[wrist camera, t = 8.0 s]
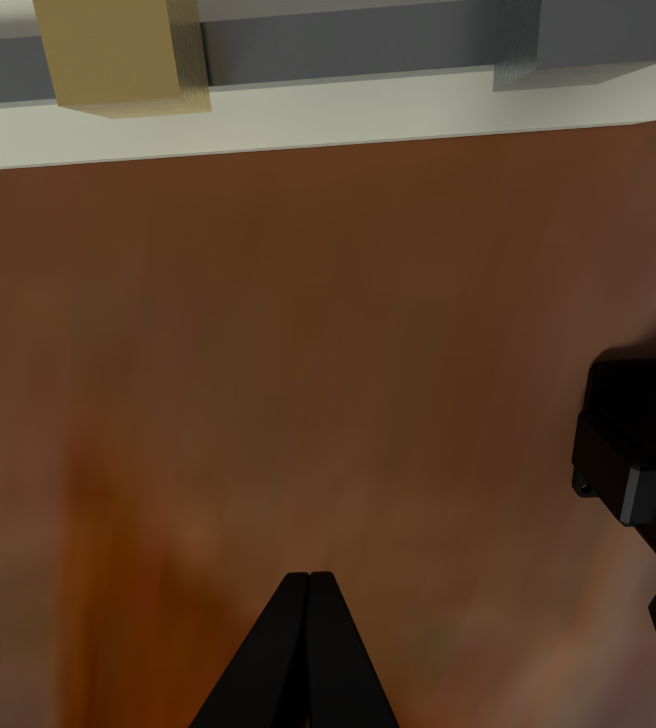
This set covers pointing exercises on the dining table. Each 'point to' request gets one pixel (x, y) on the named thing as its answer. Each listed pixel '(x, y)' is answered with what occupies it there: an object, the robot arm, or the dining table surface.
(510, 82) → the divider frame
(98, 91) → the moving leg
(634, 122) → the plate
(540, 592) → the dining table surface
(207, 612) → the dining table surface
